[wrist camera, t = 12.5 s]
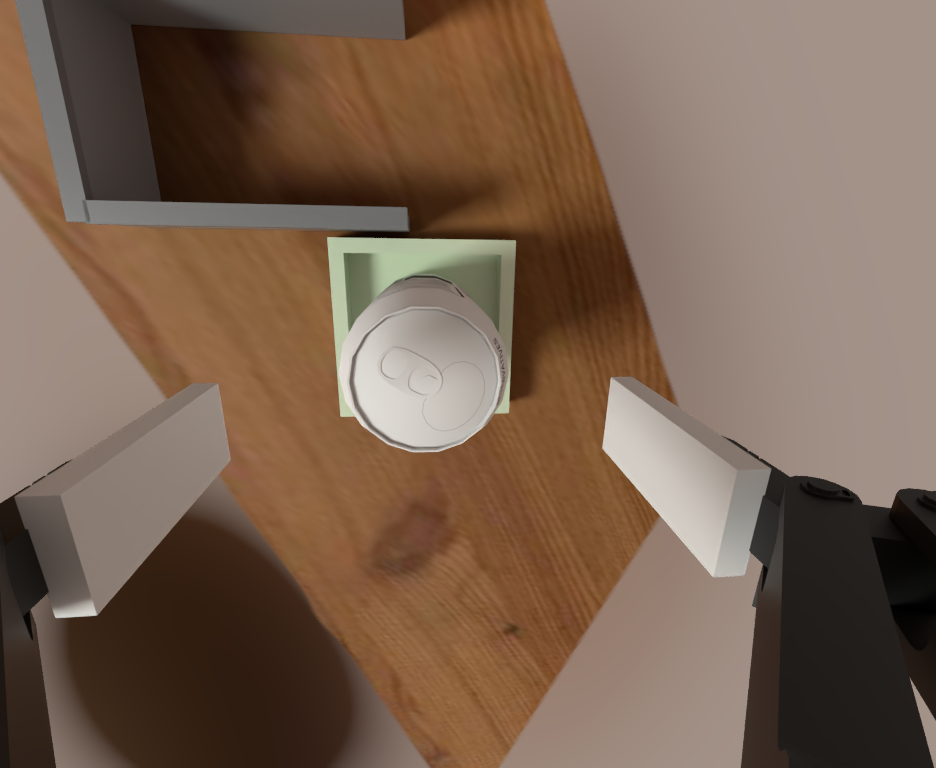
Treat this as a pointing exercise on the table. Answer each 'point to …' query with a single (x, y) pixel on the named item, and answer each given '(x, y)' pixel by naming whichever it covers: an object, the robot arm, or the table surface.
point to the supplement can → (423, 365)
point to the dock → (124, 116)
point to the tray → (388, 259)
